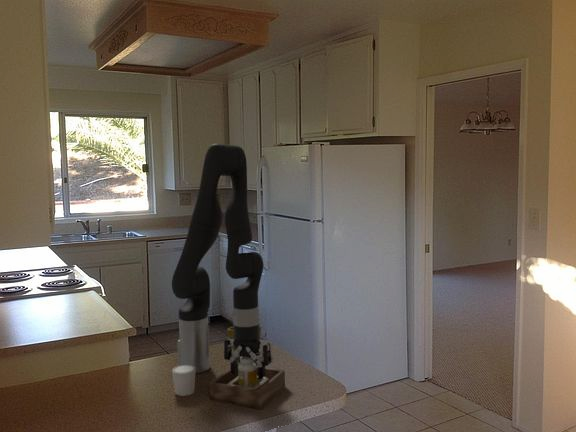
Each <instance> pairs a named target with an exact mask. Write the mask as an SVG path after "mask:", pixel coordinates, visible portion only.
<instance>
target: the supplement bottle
mask: <svg viewBox="0 0 576 432" xmlns="http://www.w3.org/2000/svg"><path fill="white" fill-rule="evenodd" d="M239 361H240V362H239V363H241V364H239V366H238V383H239V386H244V387H250V388H254V387H255V386H256V385H257V367H256V366H257V363H255V361H254V360H253V358H252V357H251V358H249V357H246V356H244V357H243V356H241V355H240V356H239Z"/></svg>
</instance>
